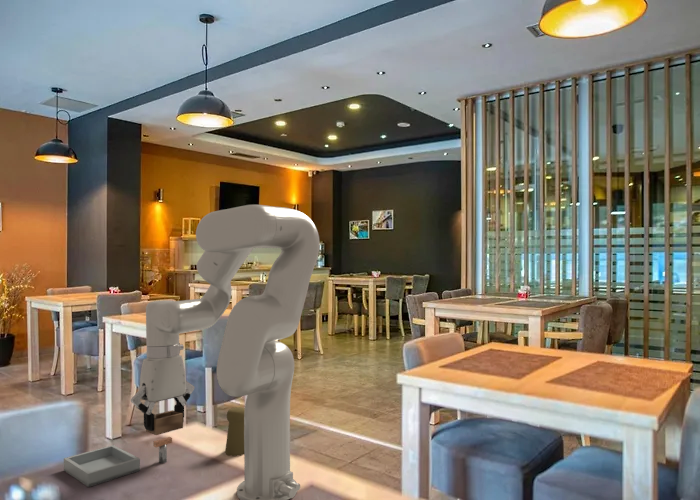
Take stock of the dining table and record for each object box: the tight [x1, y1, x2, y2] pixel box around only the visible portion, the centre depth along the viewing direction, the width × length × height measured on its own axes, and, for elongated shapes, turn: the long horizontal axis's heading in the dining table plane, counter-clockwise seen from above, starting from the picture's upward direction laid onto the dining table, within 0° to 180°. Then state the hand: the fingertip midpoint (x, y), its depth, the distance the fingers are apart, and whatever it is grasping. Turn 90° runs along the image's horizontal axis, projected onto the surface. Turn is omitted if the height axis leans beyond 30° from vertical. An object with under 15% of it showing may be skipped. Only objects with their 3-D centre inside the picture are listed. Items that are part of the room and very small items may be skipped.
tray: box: [63, 444, 141, 488], centre depth 123 cm, size 14×12×3 cm
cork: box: [224, 406, 245, 457], centre depth 135 cm, size 6×6×11 cm
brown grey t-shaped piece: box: [152, 436, 173, 464], centre depth 128 cm, size 2×4×5 cm, turn 139°
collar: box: [145, 409, 184, 436], centre depth 128 cm, size 7×5×4 cm
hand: (164, 425), depth 128 cm, fingers closed on collar, 7 cm apart
